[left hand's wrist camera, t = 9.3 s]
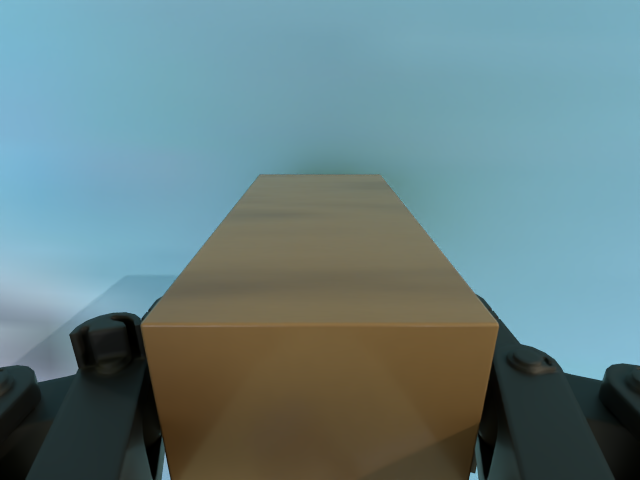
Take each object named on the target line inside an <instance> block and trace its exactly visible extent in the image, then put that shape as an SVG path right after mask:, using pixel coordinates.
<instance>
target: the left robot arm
mask: <svg viewBox="0 0 640 480" xmlns="http://www.w3.org/2000/svg"><path fill="white" fill-rule="evenodd" d="M476 296H477V297H478V298H479V299H480V301H481V302H482V303H483V304H484V306H485V307H486V308H487V309H488V311H489V312H490V313H491V314H492V316H493V317H494V318H495V319H496V321H497V322H498V324H499V329H498V334H497V339H496V345H495V350H494V355H493V360H492V365H491V370H490V375H489V380H488V385H487V390H486V395H485V400H484V405H483V410H482V415H481V421H480V426H479V431H478V436H477V441H476V446H475V451H474V456H473V461H472V466H471V471H470V472H472V473H475V471H476V467H477V470H478V478H479V480H640V366H638V365H630V364H615V365H611V366H610V367H609V368H607V369H606V372H605V375H604V378H603V381H600V380H596V379H591V378H586V377H581V376H576V375H571V374H567V373H564V372H563V370H562V368H561V367H560V366H559V364H558V363H557V362H556V360H555V359H553V358H552V357H550V356H549V355H547V354H546V353H545V352H542V351H540V350H538V349H536V348H533V347H530V346H526V345H522V344H520V343H519V342H518V340H517V339H516V338H515V337H514V335H513V334H512V333H511V332H510V331H509V329H508V328H507V327H506V326H505V324H504V323H503V322H502V321H501V320H500V319H499V318H498V316H497V315H496V313H495V312H494V311H492V309H491V307H490V306H489V305H488V304H487V302H486V301H485V300H484V299H483V298H481V297H480V296H478V295H477V294H476ZM160 299H161V298H159V299H157V300H156V301H155V302H154V304H153V305H152V306H151V307H150V309H149V310H148V312H146V314H145V315H144V316H143V317H142V320H141V319H140V318H139V317H138V316H136V315H135V314H131V313H126V312H123V313H110V314H106V315H101V316H98V317H95V318H93V319H90V320H88V321H86V322H84V323H82V324H81V325H79V326H78V327H76V328H75V329H74V330H73V331H72V332H71V333H70V334H69V335H70V339H71V343H72V346H73V350H74V353H75V357H76V361H77V364H78V368H79V369H78V371H77V373H76V374H75V375H71V376H67V377H62V378H58V379H53V380H48V381H43V382H37V379H36V376H35V373H34V371H33V370H32V369H31V368H29V367H27V366H19V365H16V366H8V367H1V368H0V480H161V479H162V471H163V463H164V455H165V448H164V443H163V438H162V433H161V428H160V423H159V418H158V413H157V408H156V403H155V398H154V393H153V388H152V383H151V378H150V373H149V367H148V362H147V357H146V352H145V347H144V342H143V337H142V332H141V327H140V326H141V323H142V321H143V320H144V319H145V318H146V316H147V315H148V314H149V313H150V311H151V310H152V309H153V308H154V306H155V305H156V304H157V303H158V301H159V300H160Z"/></svg>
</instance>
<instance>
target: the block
mask: <svg viewBox="0 0 640 480" xmlns="http://www.w3.org/2000/svg"><path fill="white" fill-rule="evenodd" d="M140 327H141V332H142V337H143V342H144V347H145V352H146V357H147V362H148V367H149V373H150V378H151V383H152V388H153V393H154V398H155V403H156V408H157V413H158V418H159V423H160V428H161V433H162V438H163V443H164V448H165V453H166V458H167V463H168V469H169V474H170V479H171V480H469V476H470V471H471V466H472V461H473V456H474V451H475V446H476V441H477V436H478V431H479V426H480V421H481V415H482V410H483V405H484V400H485V395H486V390H487V385H488V380H489V375H490V370H491V365H492V360H493V355H494V350H495V345H496V339H497V334H498V329H499V324H498V322H497V321H496V319H495V318H494V317H493V316H492V314H491V313H490V312H489V311H488V309H487V308H486V307H485V306H484V304H483V303H482V302H481V301H480V299H479V298H478V297H477V296H476V294H475V293H474V292H473V291H472V289H471V288H470V287H469V286H468V284H467V283H466V282H465V281H464V279H463V278H462V277H461V275H460V274H459V273H458V272H457V270H456V269H455V268H454V267H453V265H452V264H451V263H450V262H449V260H448V259H447V258H446V257H445V255H444V254H443V253H442V252H441V250H440V249H439V248H438V247H437V245H436V244H435V243H434V242H433V240H432V239H431V238H430V237H429V235H428V234H427V233H426V232H425V230H424V229H423V228H422V226H421V225H420V224H419V223H418V221H417V220H416V219H415V218H414V216H413V215H412V214H411V213H410V211H409V210H408V209H407V208H406V206H405V205H404V204H403V203H402V201H401V200H400V199H399V198H398V196H397V195H396V194H395V193H394V191H393V190H392V189H391V188H390V186H389V185H388V184H387V183H386V181H385V180H384V179H383V178H382V176H381V175H259V176H258V177H257V179H256V180H255V181H254V182H253V184H252V185H251V186H250V187H249V189H248V190H247V191H246V192H245V194H244V195H243V196H242V197H241V199H240V200H239V201H238V202H237V204H236V205H235V206H234V207H233V209H232V210H231V211H230V212H229V214H228V215H227V216H226V217H225V219H224V220H223V221H222V222H221V224H220V225H219V226H218V227H217V229H216V230H215V231H214V232H213V234H212V235H211V236H210V237H209V239H208V240H207V241H206V242H205V244H204V245H203V246H202V247H201V249H200V250H199V251H198V252H197V254H196V255H195V256H194V257H193V259H192V260H191V261H190V262H189V264H188V265H187V266H186V267H185V269H184V270H183V271H182V272H181V274H180V275H179V276H178V277H177V279H176V280H175V281H174V282H173V284H172V285H171V286H170V287H169V289H168V290H167V291H166V292H165V294H164V295H163V296H162V297H161V299H160V300H159V301H158V303H157V304H156V305H155V306H154V308H153V309H152V310H151V311H150V313H149V314H148V315H147V316H146V318H145V319H144V320H143V321H142V323H141V326H140Z"/></svg>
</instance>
